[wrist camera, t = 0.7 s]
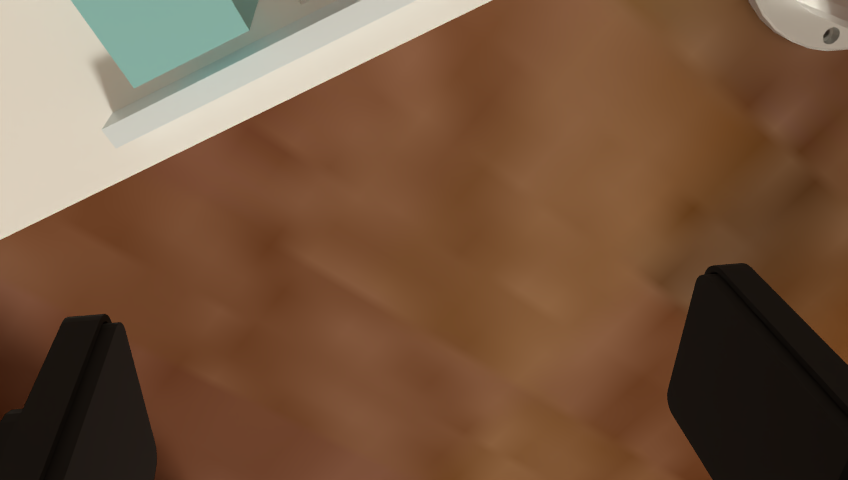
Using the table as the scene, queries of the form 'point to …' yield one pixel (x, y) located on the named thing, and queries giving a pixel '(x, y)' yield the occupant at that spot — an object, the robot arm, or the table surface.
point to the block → (163, 31)
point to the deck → (164, 89)
